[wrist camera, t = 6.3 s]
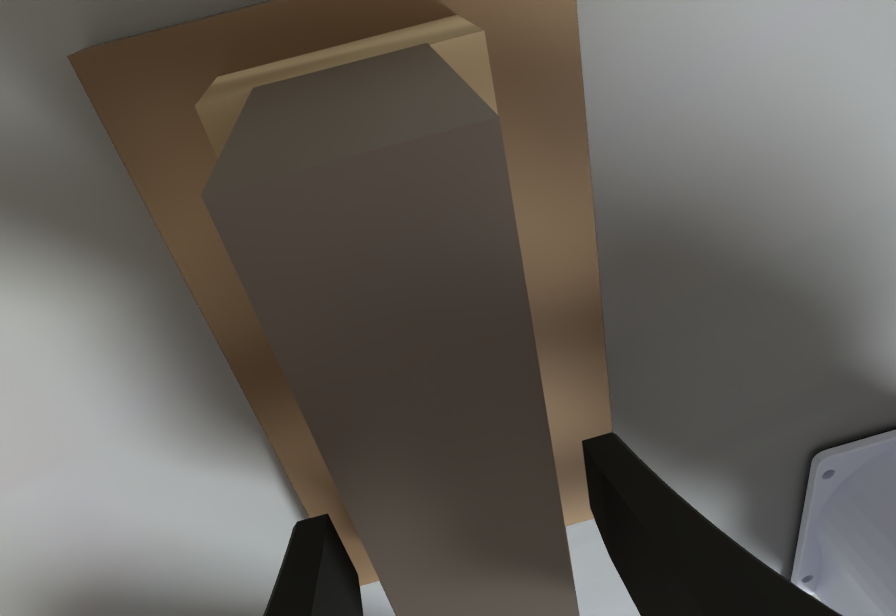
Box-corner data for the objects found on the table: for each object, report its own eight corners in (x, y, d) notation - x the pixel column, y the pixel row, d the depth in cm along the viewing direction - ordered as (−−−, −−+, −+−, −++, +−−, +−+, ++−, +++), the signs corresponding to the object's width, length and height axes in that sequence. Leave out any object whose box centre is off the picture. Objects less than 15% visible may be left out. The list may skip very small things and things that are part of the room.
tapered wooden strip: (542, 585, 19) (604, 771, 15) (442, 614, 19) (476, 809, 14) (427, 42, 10) (498, 116, 6) (241, 90, 10) (180, 200, 6)
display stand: (608, 489, 22) (650, 572, 19) (346, 564, 22) (349, 661, 19) (553, -72, 13) (622, -75, 10) (84, 48, 12) (10, 83, 9)
